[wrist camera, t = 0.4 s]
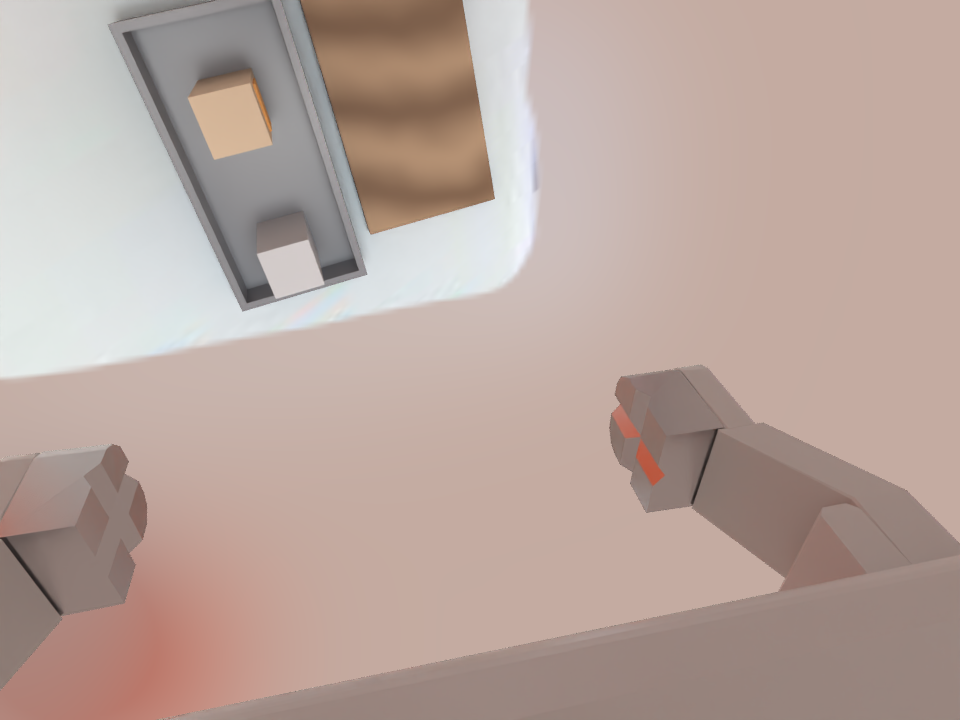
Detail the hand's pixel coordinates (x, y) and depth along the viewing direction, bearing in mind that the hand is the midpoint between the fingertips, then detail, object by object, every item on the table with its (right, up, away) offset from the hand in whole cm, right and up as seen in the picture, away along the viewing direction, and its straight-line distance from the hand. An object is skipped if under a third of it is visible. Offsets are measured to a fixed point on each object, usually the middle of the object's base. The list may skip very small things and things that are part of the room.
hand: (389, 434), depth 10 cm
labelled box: (-17, +21, +36) cm, 45 cm away
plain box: (-15, +12, +43) cm, 47 cm away
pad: (-5, +23, +40) cm, 47 cm away
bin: (-17, +18, +39) cm, 46 cm away
